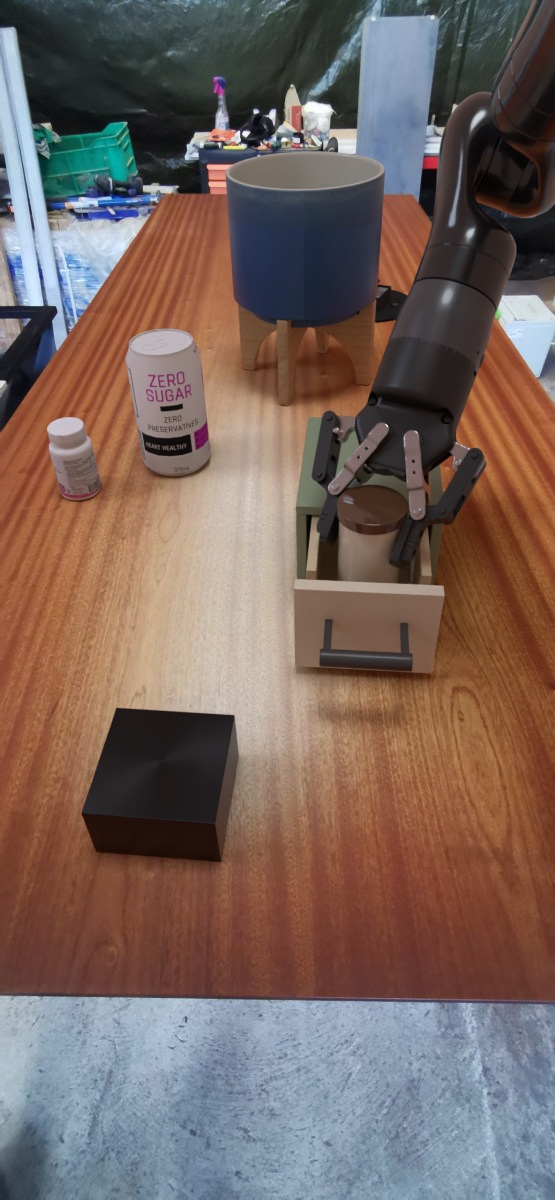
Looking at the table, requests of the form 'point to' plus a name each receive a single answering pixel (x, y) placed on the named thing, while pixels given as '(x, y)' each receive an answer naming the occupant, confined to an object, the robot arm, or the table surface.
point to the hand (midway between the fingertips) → (360, 553)
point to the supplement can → (168, 401)
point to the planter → (306, 254)
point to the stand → (163, 784)
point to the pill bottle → (73, 459)
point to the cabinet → (315, 495)
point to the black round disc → (388, 303)
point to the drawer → (366, 615)
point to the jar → (369, 533)
